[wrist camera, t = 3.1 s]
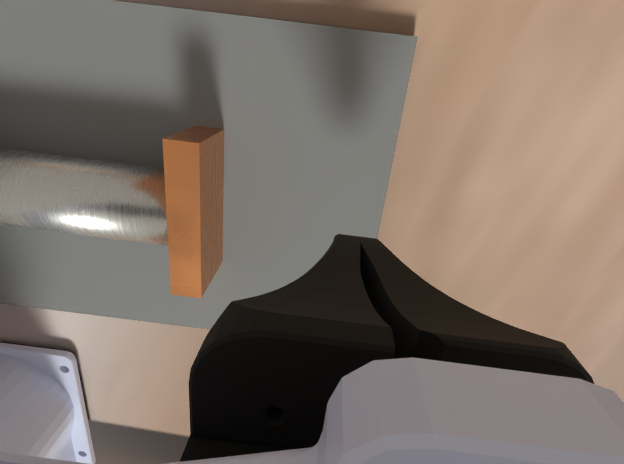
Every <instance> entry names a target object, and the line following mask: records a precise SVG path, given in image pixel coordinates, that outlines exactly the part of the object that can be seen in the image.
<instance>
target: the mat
mask: <svg viewBox="0 0 624 464" xmlns="http://www.w3.org/2000/svg"><path fill="white" fill-rule="evenodd" d="M416 42H417V36H408V35H400V34H391V33H383V32H375V31H366V30H358V29H350V28H341V27H333V26H324V25H316V24H308V23H299V22H291V21H283V20H274V19H266V18H258V17H249V16H241V15H232V14H224V13H216V12H207V11H199V10H191V9H182V8H174V7H165V6H157V5H149V4H140V3H132V2H124V1H115V0H0V148H3V149H11V150H19V151H27V152H35V153H44V154H52V155H60V156H68V157H76V158H85V159H93V160H101V161H109V162H117V163H125V164H134V165H142V166H150V167H158V168H164V159H163V140H162V139H163V138H166V137H168V136H170V135H173V134H175V133H178V132H180V131H183V130H185V129H187V128H190V127H192V126H201V127H210V128H218V129H224V194H223V262H222V264H221V265H220V267H219V269H218V271H217V272H216V274H215V276H214V277H213V279H212V281H211V283H210V284H209V286H208V288H207V290H206V291H205V293H204V295H203V297H202V298H194V297H186V296H178V295H171V289H170V270H169V252H168V246H163V245H155V244H147V243H139V242H131V241H123V240H115V239H107V238H99V237H91V236H83V235H74V234H66V233H58V232H50V231H42V230H34V229H26V228H18V227H10V226H2V225H0V303H2V304H10V305H18V306H26V307H34V308H42V309H50V310H58V311H66V312H74V313H82V314H91V315H99V316H107V317H115V318H123V319H131V320H139V321H147V322H155V323H163V324H171V325H179V326H187V327H195V328H203V329H211V328H212V327H213V325H214V324H215V322H216V321H217V320H218V318H219V317H220V315H221V314H222V313H223V311H224V310H225V309H226V307H227V306H228V305H229V304H230V302H232V301H236V300H241V299H245V298H250V297H255V296H259V295H262V294H265V293H268V292H271V291H274V290H277V289H279V288H281V287H284V286H286V285H288V284H289V283H291V282H293V281H295V280H297V279H298V278H300V277H301V276H302V275H304V274H305V273H306V272H307V271H309V270H310V269H311V268H312V267H313V266H314V265H315V264H316V263H317V262H318V261H319V260H320V259H321V258H322V257H323V255H324V254H325V253H326V251H327V250H328V249H329V247H330V246H331V244H332V242H333V240H334V236H336V235H337V234H344V235H352V236H360V237H368V238H376V239H377V237H378V232H379V227H380V222H381V217H382V212H383V207H384V202H385V197H386V192H387V187H388V182H389V177H390V172H391V167H392V162H393V157H394V152H395V147H396V142H397V137H398V132H399V127H400V122H401V117H402V112H403V107H404V102H405V97H406V92H407V87H408V82H409V77H410V72H411V67H412V62H413V57H414V52H415V47H416Z"/></svg>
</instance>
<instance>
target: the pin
mask: <svg viewBox="0 0 624 464" xmlns="http://www.w3.org/2000/svg"><path fill="white" fill-rule="evenodd" d="M162 140H163V159H164V168H158V167H150V166H142V165H134V164H125V163H117V162H109V161H101V160H93V159H85V158H76V157H68V156H60V155H52V154H44V153H35V152H27V151H19V150H11V149H3V148H0V225H2V226H10V227H18V228H26V229H34V230H42V231H50V232H58V233H66V234H74V235H83V236H91V237H99V238H107V239H115V240H123V241H131V242H139V243H147V244H155V245H163V246H168V252H169V270H170V289H171V295H178V296H186V297H194V298H202V297H203V295H204V293H205V291H206V290H207V288H208V286H209V284H210V283H211V281H212V279H213V277H214V276H215V274H216V272H217V271H218V269H219V267H220V265H221V264H222V262H223V194H224V129H218V128H210V127H201V126H192V127H190V128H187V129H185V130H183V131H180V132H178V133H175V134H173V135H170V136H168V137H166V138H163V139H162Z"/></svg>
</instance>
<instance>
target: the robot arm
mask: <svg viewBox="0 0 624 464" xmlns="http://www.w3.org/2000/svg"><path fill="white" fill-rule="evenodd" d="M189 403H190V430H191V435H190V437H189V440H188V442H187V445H186V447H185V450H184V452H183V455H182V457H181V460H180V462H174V463H165V464H624V402H623V401H622V400H621V399H620V398H619V397H618V395H617V394H616V393H615V392H614V391H612V390H609V389H606V388H604V387H601V386H598V385H596V384H594V382H593V379H592V377H591V376H590V375H589V373H588V372H587V371H586V370H585V369H584V367H583V366H582V365H581V364H580V362H579V361H578V360H577V359H576V357H575V356H574V355H573V354H572V353H571V351H570V350H569V349H568V348H567V346H566V345H565V344H564V343H562V342H559V341H556V340H553V339H550V338H546V337H543V336H540V335H537V334H534V333H531V332H528V331H525V330H522V329H519V328H516V327H513V326H511V325H508V324H506V323H503V322H501V321H498V320H496V319H493V318H491V317H489V316H486V315H484V314H482V313H480V312H478V311H475V310H474V309H472V308H470V307H468V306H466V305H464V304H462V303H460V302H458V301H456V300H454V299H452V298H451V297H449V296H447V295H446V294H444V293H443V292H441V291H439V290H438V289H436V288H435V287H433V286H432V285H430V284H429V283H427V282H426V281H425V280H423V279H422V278H421V277H419V276H418V275H417V274H416V273H414V272H413V271H412V270H411V269H409V268H408V267H407V266H406V265H405V264H404V263H402V262H401V261H400V260H399V259H398V258H397V257H396V256H395V255H394V254H393V253H392V252H391V251H390V250H389V249H388V248H386V247H385V246H384V245H383V244H382V243H381V242H380V241H379V240H378V239H376V238H368V237H360V236H352V235H344V234H337V235H336V236H334V240H333V242H332V244H331V246H330V247H329V249H328V250H327V251H326V253H325V254H324V255H323V257H322V258H321V259H320V260H319V261H318V262H317V263H316V264H315V265H314V266H313V267H312V268H311V269H310V270H309V271H307V272H306V273H305V274H304V275H302V276H301V277H300V278H298V279H297V280H295V281H293V282H291V283H289V284H288V285H286V286H284V287H281V288H279V289H277V290H274V291H271V292H268V293H265V294H262V295H259V296H255V297H250V298H245V299H241V300H236V301H232V302H230V304H229V305H228V306H227V307H226V309H225V310H224V311H223V313H222V314H221V315H220V317H219V318H218V320H217V321H216V322H215V324H214V325H213V327H212V328H211V330H210V331H209V333H208V335H207V336H206V338H205V340H204V342H203V344H202V346H201V348H200V350H199V352H198V354H197V357H196V359H195V361H194V363H193V365H192V367H191V372H190V379H189ZM95 461H96V460H95V454H94V449H93V444H92V439H91V434H90V429H89V423H88V418H87V413H86V408H85V403H84V398H83V392H82V387H81V382H80V377H79V372H78V366H77V361H76V358H75V356H74V355H73V353H71V352H69V351H63V350H55V349H47V348H39V347H31V346H23V345H15V344H7V343H0V464H94V463H95Z"/></svg>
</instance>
